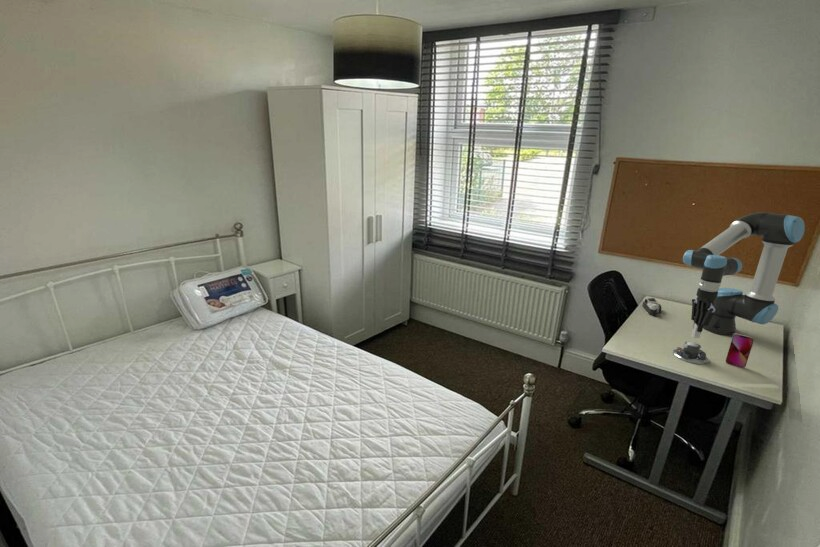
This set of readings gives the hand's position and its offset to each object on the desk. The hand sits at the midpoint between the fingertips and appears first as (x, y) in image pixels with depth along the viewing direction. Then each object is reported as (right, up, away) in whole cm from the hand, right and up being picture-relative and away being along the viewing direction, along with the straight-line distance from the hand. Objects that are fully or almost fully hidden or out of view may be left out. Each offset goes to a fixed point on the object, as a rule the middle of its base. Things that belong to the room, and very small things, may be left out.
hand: (695, 336), depth 186 cm
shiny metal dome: (0, -10, +3) cm, 10 cm away
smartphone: (+16, -13, -3) cm, 20 cm away
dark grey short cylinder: (-1, -9, +3) cm, 10 cm away
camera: (+12, +5, +53) cm, 55 cm away
